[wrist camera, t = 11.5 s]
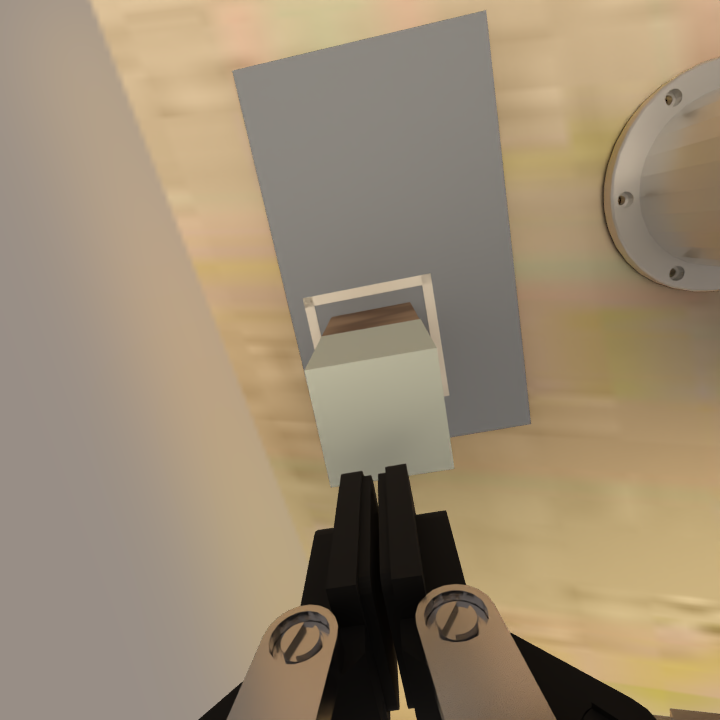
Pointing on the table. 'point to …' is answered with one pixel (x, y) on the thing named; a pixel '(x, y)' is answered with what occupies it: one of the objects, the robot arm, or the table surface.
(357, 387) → the sage block
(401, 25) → the table surface
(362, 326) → the walnut block
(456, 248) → the board
